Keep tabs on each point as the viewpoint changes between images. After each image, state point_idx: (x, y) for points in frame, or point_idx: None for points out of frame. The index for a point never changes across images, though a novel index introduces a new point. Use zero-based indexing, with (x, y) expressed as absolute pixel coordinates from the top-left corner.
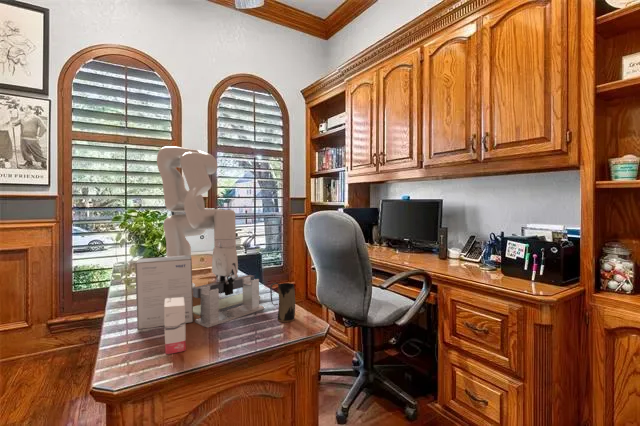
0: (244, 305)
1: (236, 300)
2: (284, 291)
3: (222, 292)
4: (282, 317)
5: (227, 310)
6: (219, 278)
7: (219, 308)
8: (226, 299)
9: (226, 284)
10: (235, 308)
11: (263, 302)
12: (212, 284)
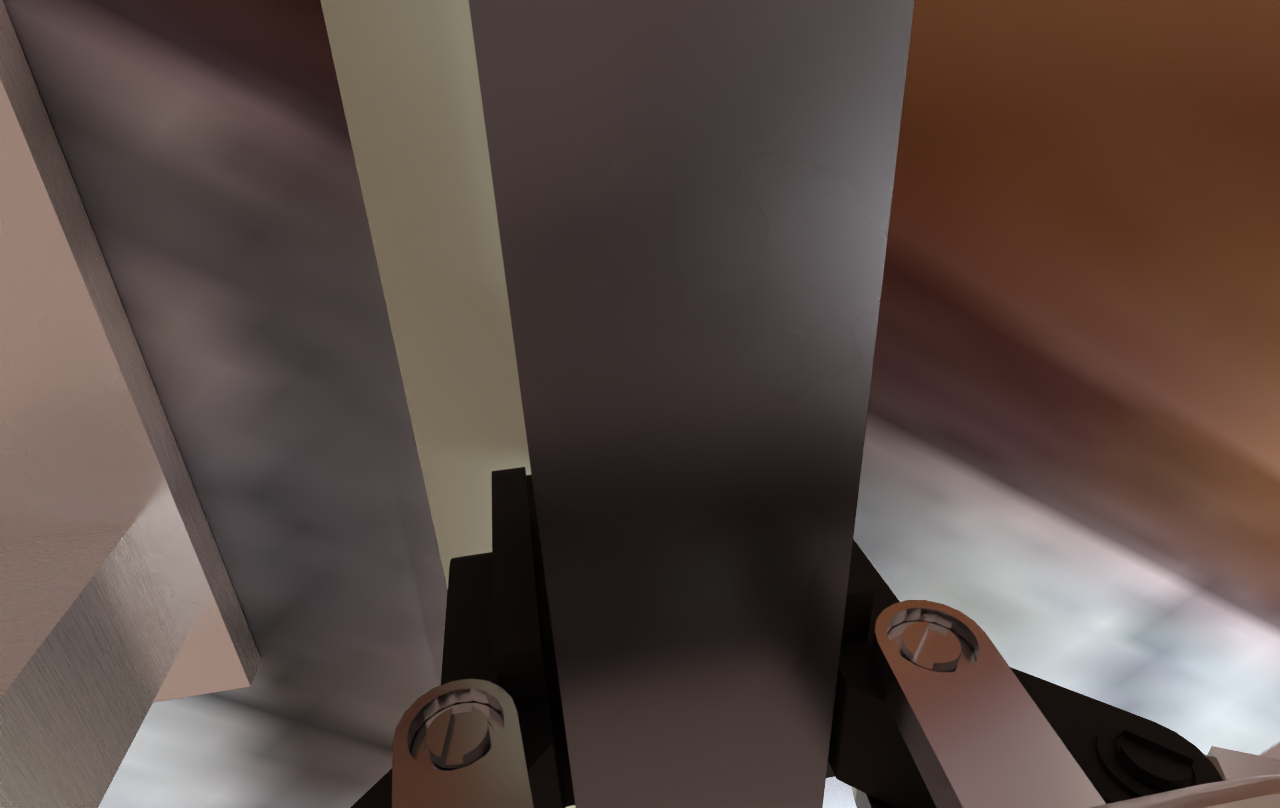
0: (61, 550)
1: None
2: None
3: None
4: None
5: (9, 202)
6: (924, 724)
7: (362, 187)
8: None
9: (467, 680)
10: (59, 380)
11: (263, 797)
12: (683, 289)
